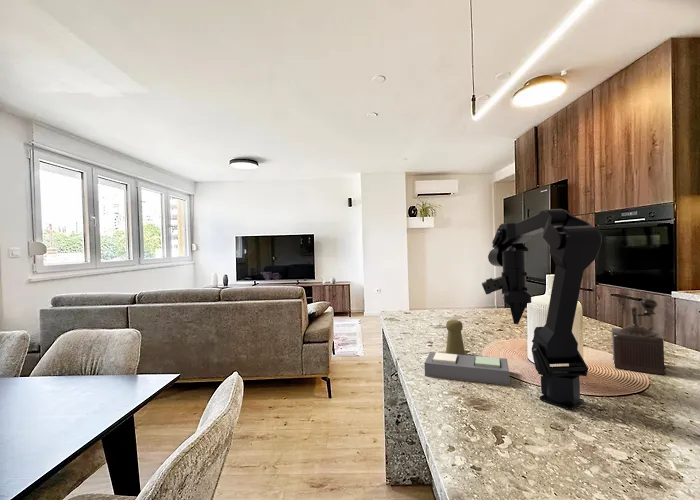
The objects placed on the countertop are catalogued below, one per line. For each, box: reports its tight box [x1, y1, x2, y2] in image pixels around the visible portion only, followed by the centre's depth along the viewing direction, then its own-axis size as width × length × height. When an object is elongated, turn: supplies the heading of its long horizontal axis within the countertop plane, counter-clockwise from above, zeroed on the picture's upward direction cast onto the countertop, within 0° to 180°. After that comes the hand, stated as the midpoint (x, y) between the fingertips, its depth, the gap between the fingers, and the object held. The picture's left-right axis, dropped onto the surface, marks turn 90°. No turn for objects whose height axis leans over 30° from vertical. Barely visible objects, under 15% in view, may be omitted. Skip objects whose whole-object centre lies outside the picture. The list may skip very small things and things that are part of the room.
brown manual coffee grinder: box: [611, 298, 667, 376], centre depth 93 cm, size 16×11×18 cm
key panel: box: [424, 351, 511, 386], centre depth 91 cm, size 21×10×4 cm, turn 67°
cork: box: [445, 319, 466, 355], centre depth 108 cm, size 6×6×11 cm
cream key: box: [433, 352, 457, 364], centre depth 93 cm, size 6×6×3 cm
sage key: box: [475, 355, 500, 368], centre depth 89 cm, size 6×6×3 cm
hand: (516, 323), depth 92 cm, fingers closed
